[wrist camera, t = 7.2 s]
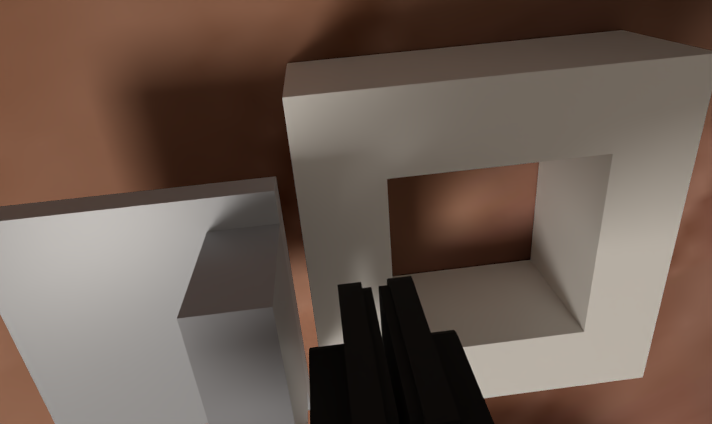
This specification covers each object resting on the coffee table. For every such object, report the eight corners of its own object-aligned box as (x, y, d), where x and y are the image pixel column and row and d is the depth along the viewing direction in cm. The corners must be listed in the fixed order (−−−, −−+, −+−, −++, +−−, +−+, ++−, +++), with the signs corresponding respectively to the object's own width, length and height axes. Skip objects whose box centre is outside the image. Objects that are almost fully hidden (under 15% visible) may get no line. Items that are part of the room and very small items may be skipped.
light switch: (622, 29, 15) (720, 53, 12) (581, 301, 20) (642, 377, 16) (286, 63, 15) (282, 97, 11) (324, 333, 19) (329, 418, 16)
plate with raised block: (275, 176, 12) (264, 267, 8) (310, 387, 15) (312, 517, 11) (-23, 208, 11) (-162, 317, 8) (76, 418, 14) (6, 561, 11)
